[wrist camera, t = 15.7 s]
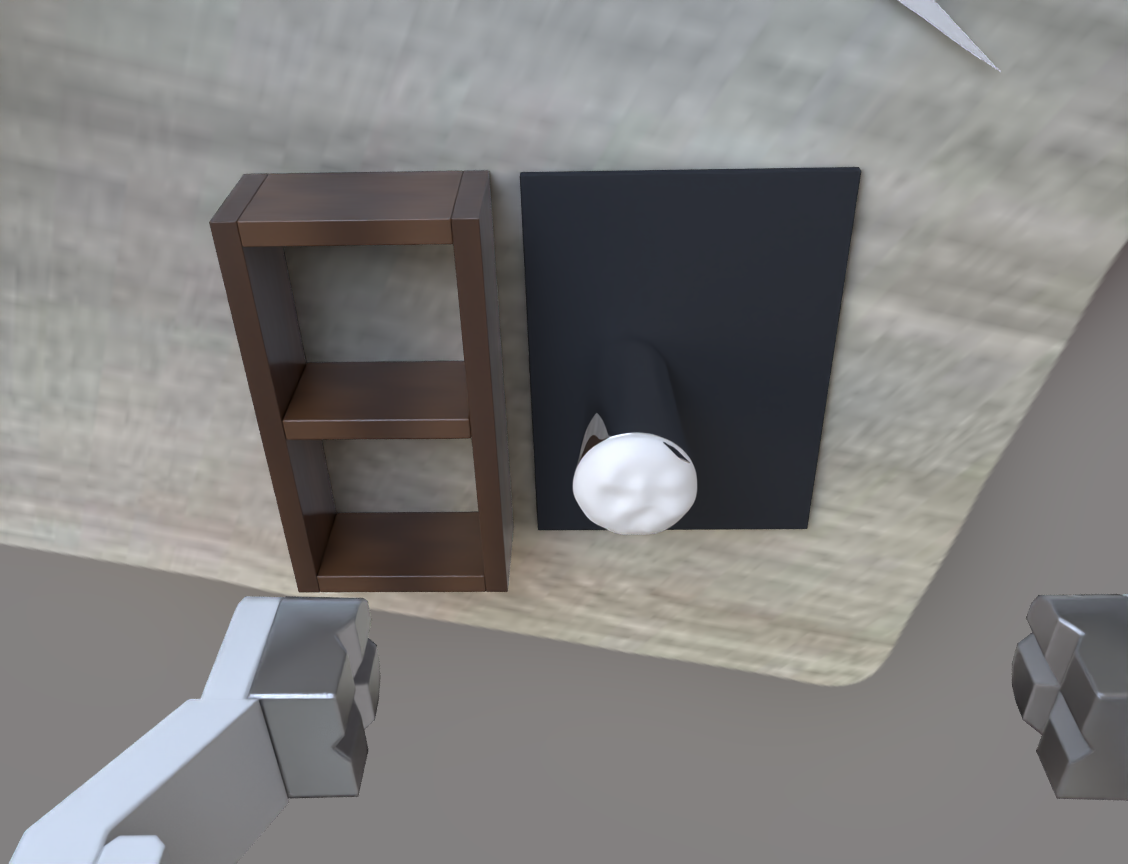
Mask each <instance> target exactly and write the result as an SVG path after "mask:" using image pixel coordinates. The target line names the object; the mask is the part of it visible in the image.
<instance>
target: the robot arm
mask: <svg viewBox="0 0 1128 864" xmlns="http://www.w3.org/2000/svg"><path fill="white" fill-rule="evenodd" d="M1026 619H1027V621H1028V623H1029V625H1030V627H1031V630H1032V633H1031V634H1030V635H1028V636H1027V637H1026V638H1024V639H1023V640H1022V641H1020V642H1019V643H1018V644H1017V647H1016V650H1015V654H1014V658H1013V661H1012V687H1013V692H1014V696H1015V700H1016V704H1017V706H1018V709H1019V711H1020V714H1021V716H1022V719H1023V720H1024V721H1025V722H1026V723H1027V724H1029V725H1030V726H1031V727H1033V728H1034V729H1035V730H1036V731H1038V732H1039V733H1040V734H1041V735H1042V736H1041V739H1040V742H1039V745H1038V748H1037V750H1036V752H1037V754H1038V756H1039V759H1040V761H1041V763H1042V766H1043V768H1044V770H1045V772H1046V775H1047V777H1048V779H1049V782H1050V784H1051V786H1052V789H1053V791H1054V793H1055V795H1056V798H1057V799H1060V798H1061V799H1093V800H1094V799H1095V800H1126V801H1128V594H1123V595H1120V594H1086V595H1085V594H1084V595H1083V594H1081V595H1038V596H1037V597H1036V599H1034V601H1033V602H1032V603H1031V605H1030V608H1029V611H1028V614H1027V616H1026ZM371 621H372V618H371V614H370V609H369V605H368V601H367V600H366V599H364V598H338V597H290V596H286V597H253V596H246V597H245V598H244V599H243V600H242V601H241V602H240V603H239V604H238V605H237V607H236V609H235V612H234V614H233V617H232V620H231V622H230V625H229V627H228V630H227V632H226V635H225V638H224V640H223V642H222V645H221V648H220V650H219V653H218V655H217V658H216V660H215V663H214V666H213V668H212V670H211V673H210V676H209V678H208V681H207V683H206V686H205V688H204V691H203V693H202V696H201V698H200V699H188V700H187V701H186V702H184V703H183V704H182V705H181V706H179V707H178V708H177V709H176V710H174V711H173V712H172V713H171V714H170V715H168V716H167V717H166V718H164V719H163V720H162V721H161V722H160V723H158V724H157V725H156V726H155V727H153V728H152V729H151V730H150V731H148V732H147V733H146V734H145V735H143V736H142V737H141V738H140V739H138V740H137V741H136V742H135V743H134V744H132V745H131V746H130V747H129V748H127V749H126V750H125V751H124V752H122V753H121V754H120V755H119V756H117V757H116V758H115V759H114V760H112V761H111V762H110V763H109V764H108V765H106V766H105V767H104V768H103V769H101V770H100V771H99V772H98V773H96V774H95V775H94V776H93V777H92V778H90V779H89V780H88V781H86V782H85V783H84V784H83V785H82V786H80V787H79V788H78V789H77V790H75V791H74V792H73V793H72V794H70V795H69V796H68V797H67V798H66V799H64V800H63V801H62V802H61V803H59V804H58V805H57V806H56V807H54V808H53V809H52V810H51V811H49V812H48V813H47V814H46V815H44V816H43V817H42V818H41V819H40V820H38V821H37V822H36V823H35V824H33V825H32V826H31V827H30V828H28V829H27V830H26V831H25V832H24V834H23V836H22V838H21V840H20V842H19V844H18V846H17V848H16V850H15V852H14V854H13V856H12V858H11V860H10V862H9V864H236V863H237V862H238V861H239V860H240V859H241V858H242V856H243V855H244V854H245V853H246V852H247V851H248V849H249V848H250V847H251V846H252V845H253V844H254V842H255V841H256V840H257V839H258V838H259V837H260V836H261V834H262V833H263V832H264V831H265V830H266V829H267V827H268V826H269V825H270V824H271V823H272V822H273V820H274V819H275V818H276V817H277V816H278V815H279V814H280V812H281V811H282V810H283V809H284V808H285V807H286V805H287V804H288V803H289V800H288V798H320V797H321V798H323V797H358V795H359V791H360V786H361V782H362V777H363V773H364V768H365V764H366V759H367V754H368V746H367V741H366V736H365V731H364V730H365V729H366V728H367V727H368V726H369V725H370V724H371V723H372V722H373V721H374V720H375V716H376V711H377V706H378V700H379V688H380V664H379V655H378V649H377V645H376V644H375V643H374V642H372V641H371V640H370V639H369V638H368V635H369V631H370V626H371Z"/></svg>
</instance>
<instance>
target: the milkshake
mask: <svg viewBox="0 0 1128 864" xmlns="http://www.w3.org/2000/svg"><path fill="white" fill-rule="evenodd" d="M573 493H574V496H575V499H576V501H577V503H578V504H579V506H580V508H581V509H582V511H583V512H584V514H585V515H586V516H587V517H588V518H589V519H590V520H591V521H592V522H594V523H595V524H597V525H599V526H601V527H603V528H605V529H608V530H610V531H612V532H614V533H617V534H622V535H641V534H655V533H659V532H662V531H664V530H666V529H668V528H670V527H671V526H673V525H674V524H675V523H676V522H678V521H679V520H680V519H681V518H682V517H683V516H684V515H685V514H686V513H687V512H688V511H689V509H690V508H691V506H692V505H693V503H694V501H695V498H696V494H697V476H696V471H695V468H694V465H693V462H692V458H691V455H690V452H689V449H688V445H687V442H686V439H685V436H684V432H683V429H682V426H681V422H680V418H679V414H678V410H677V406H676V402H675V398H674V394H673V390H672V386H671V383H670V379H669V375H668V371H667V367H666V363H665V359H664V357H663V356H662V355H661V354H660V353H659V352H658V351H657V350H656V349H655V348H654V347H653V346H652V345H651V344H650V343H649V342H647V341H641V340H636V339H630V338H623V339H620V340H618V341H615V342H612V343H610V344H607V345H604V346H603V347H602V349H601V350H600V352H599V353H598V354H597V356H596V357H595V359H594V360H593V362H592V363H591V367H590V375H589V382H588V390H587V398H586V405H585V413H584V421H583V429H582V436H581V442H580V447H579V453H578V458H577V464H576V470H575V474H574V479H573Z"/></svg>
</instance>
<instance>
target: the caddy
mask: <svg viewBox="0 0 1128 864" xmlns="http://www.w3.org/2000/svg"><path fill="white" fill-rule="evenodd" d="M209 224H210V228H211V232H212V236H213V240H214V244H215V248H216V252H217V257H218V261H219V265H220V269H221V273H222V277H223V281H224V286H225V290H226V294H227V298H228V302H229V306H230V310H231V314H232V319H233V323H234V327H235V331H236V335H237V339H238V343H239V348H240V352H241V356H242V360H243V364H244V368H245V372H246V376H247V381H248V385H249V389H250V393H251V397H252V401H253V405H254V410H255V414H256V418H257V422H258V426H259V430H260V434H261V438H262V443H263V447H264V451H265V455H266V459H267V463H268V467H269V471H270V476H271V480H272V484H273V488H274V492H275V496H276V500H277V505H278V509H279V513H280V517H281V521H282V525H283V529H284V533H285V538H286V542H287V546H288V550H289V554H290V558H291V562H292V567H293V571H294V575H295V579H296V583H297V587H298V591H299V592H485V591H486V592H508V585H509V574H510V563H511V552H512V541H513V530H514V523H513V509H512V494H511V480H510V465H509V451H508V436H507V422H506V407H505V393H504V378H503V364H502V349H501V335H500V320H499V306H498V291H497V277H496V262H495V248H494V233H493V219H492V204H491V190H490V175H489V171H488V170H481V171H464V172H463V171H418V172H353V173H288V174H269V175H268V174H244V175H243V176H242V177H241V179H240V180H239V181H238V183H237V184H236V186H235V187H234V188H233V190H232V191H231V193H230V194H229V195H228V197H227V198H226V199H225V201H224V202H223V204H222V205H221V206H220V208H219V209H218V211H217V212H216V213H215V215H214V216H213V217H212V219H211V220H210V222H209ZM420 244H453V246H454V256H455V267H456V277H457V288H458V299H459V309H460V320H461V330H462V341H463V352H464V361H415V362H313V363H307V364H306V359H305V354H304V349H303V344H302V339H301V334H300V329H299V324H298V319H297V314H296V309H295V304H294V299H293V294H292V289H291V284H290V279H289V274H288V269H287V264H286V259H285V254H284V249H283V246H345V245H420ZM471 437H472V447H473V458H474V468H475V479H476V490H477V500H478V511H479V512H393V513H337V514H336V509H335V504H334V499H333V494H332V489H331V484H330V479H329V474H328V469H327V464H326V459H325V454H324V449H323V444H322V440H327V439H460V438H471Z"/></svg>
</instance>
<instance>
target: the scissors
mask: <svg viewBox="0 0 1128 864" xmlns="http://www.w3.org/2000/svg"><path fill="white" fill-rule="evenodd" d="M898 1H899V2H901V3H902V4H903V5H905V6H906V7H908V8H909V9H911V10H912V11H914V12H915V13H916V14H918V15H919V16H921V17H922V18H924V19H925V20H926V21H928V22H929V23H930V24H932V25H933V26H935V27H936V28H937V29H939V30H940V31H941V32H943V33H944V34H945V35H947V36H948V37H949V38H951V39H952V40H953V41H955V42H956V43H958V44H959V45H960V46H962V47H963V48H964V49H966V50H967V51H969V52H970V53H972V54H974V55H975V56H977V57H978V58H980V59H981V60H983V61H984V62H986V63H988V64H989V65H991V66H992V67H994V68H995V69H997V70H998V71H1000V70H999V69H998V68H997V67H996V66H995V65H994V64H993V63H992V62H991V61H990V60H989V58H988V57H987V56H986V55H985V54H984V53H983V52H982V51H981V50H980V49H979V48H978V47H977V46H976V44H975V43H974V42H973V41H972V40H971V39H970V38H969V37H968V36H967V35H966V34H965V33H964V32H963V30H962V29H961V28H960V27H959V26H958V25H957V24H956V23H955V22H954V21H953V20H952V19H951V18H950V16H949V15H948V14H947V13H946V12H945V11H944V10H943V9H942V8H941V7H940V6H939V5H938V4H937V2H936V1H935V0H898ZM1000 72H1001V71H1000Z"/></svg>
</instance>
